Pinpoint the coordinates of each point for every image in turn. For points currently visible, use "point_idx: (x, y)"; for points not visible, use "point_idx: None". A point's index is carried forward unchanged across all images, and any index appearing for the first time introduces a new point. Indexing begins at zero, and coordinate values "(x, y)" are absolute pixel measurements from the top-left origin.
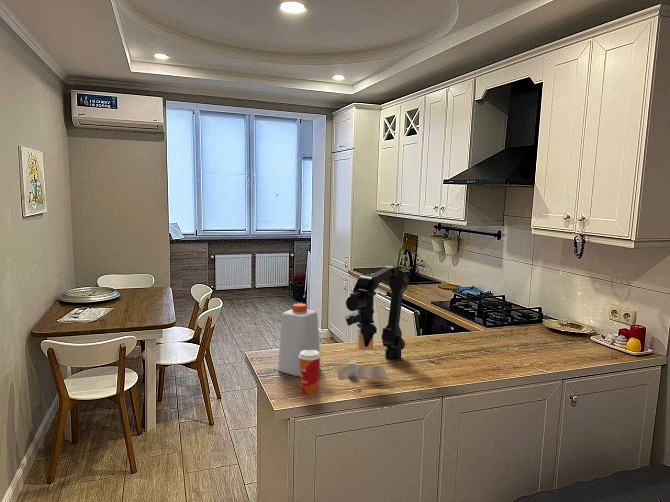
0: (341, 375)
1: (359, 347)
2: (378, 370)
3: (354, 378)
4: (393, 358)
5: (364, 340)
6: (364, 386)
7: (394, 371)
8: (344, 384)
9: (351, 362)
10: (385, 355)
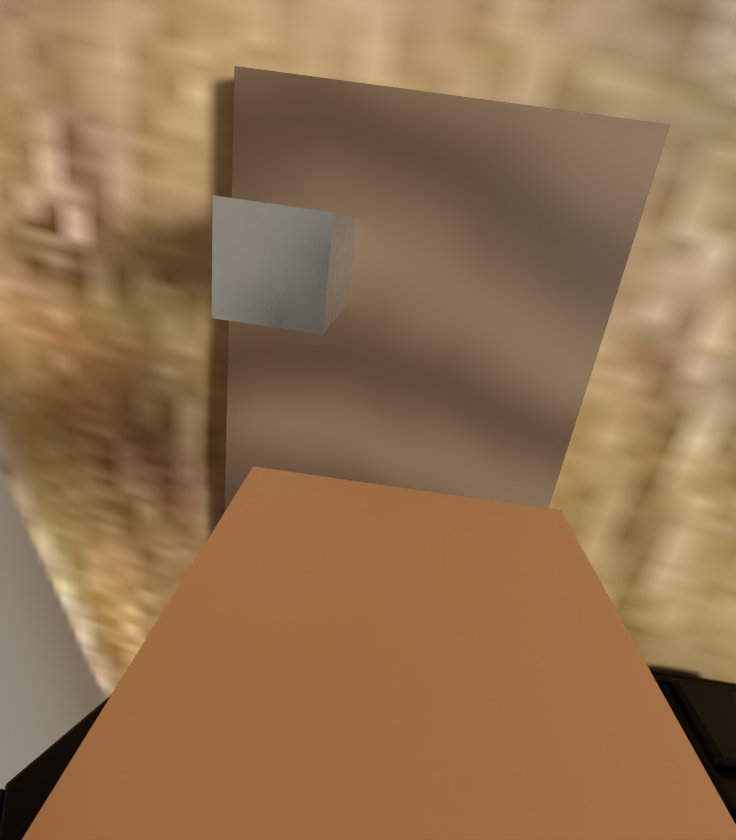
0: (351, 135)
1: (233, 500)
2: None
3: None
4: None
5: (34, 767)
6: (140, 337)
7: None
8: (189, 142)
9: (285, 265)
10: (716, 710)
